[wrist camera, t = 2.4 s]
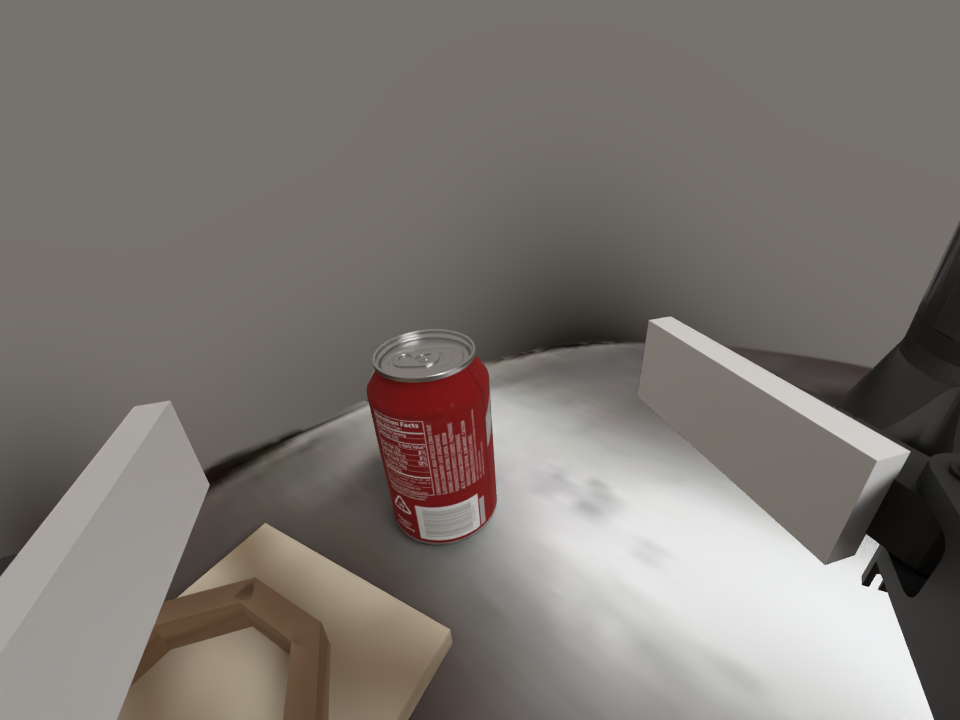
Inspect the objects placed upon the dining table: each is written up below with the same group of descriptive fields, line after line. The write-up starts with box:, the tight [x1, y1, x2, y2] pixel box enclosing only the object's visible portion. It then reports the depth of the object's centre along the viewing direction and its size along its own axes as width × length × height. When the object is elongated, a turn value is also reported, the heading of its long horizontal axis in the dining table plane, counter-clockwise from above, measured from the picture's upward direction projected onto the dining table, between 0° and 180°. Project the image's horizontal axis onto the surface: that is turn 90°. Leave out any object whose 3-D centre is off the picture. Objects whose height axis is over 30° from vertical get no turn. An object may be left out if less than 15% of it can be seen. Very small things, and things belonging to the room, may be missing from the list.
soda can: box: [367, 329, 497, 545], centre depth 26 cm, size 7×7×12 cm
